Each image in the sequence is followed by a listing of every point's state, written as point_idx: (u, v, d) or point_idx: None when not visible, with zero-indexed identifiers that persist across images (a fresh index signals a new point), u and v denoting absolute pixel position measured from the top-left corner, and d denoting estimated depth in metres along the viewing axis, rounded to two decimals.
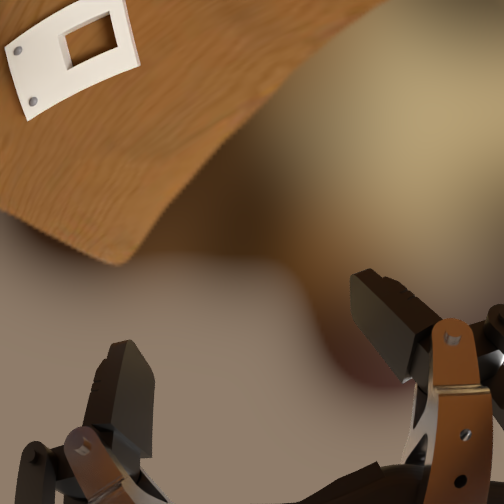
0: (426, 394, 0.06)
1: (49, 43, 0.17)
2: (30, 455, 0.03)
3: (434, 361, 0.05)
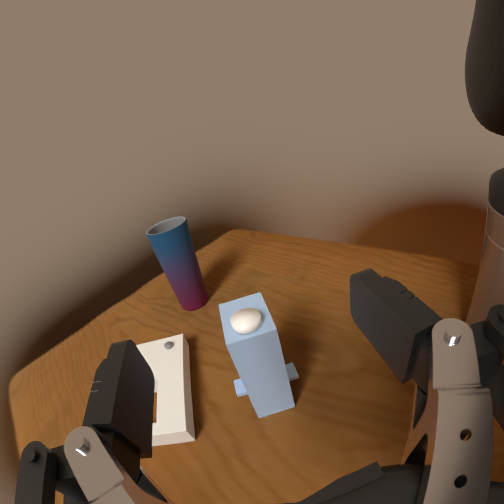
0: (426, 394, 0.06)
1: (155, 372, 0.31)
2: (30, 455, 0.03)
3: (434, 361, 0.05)
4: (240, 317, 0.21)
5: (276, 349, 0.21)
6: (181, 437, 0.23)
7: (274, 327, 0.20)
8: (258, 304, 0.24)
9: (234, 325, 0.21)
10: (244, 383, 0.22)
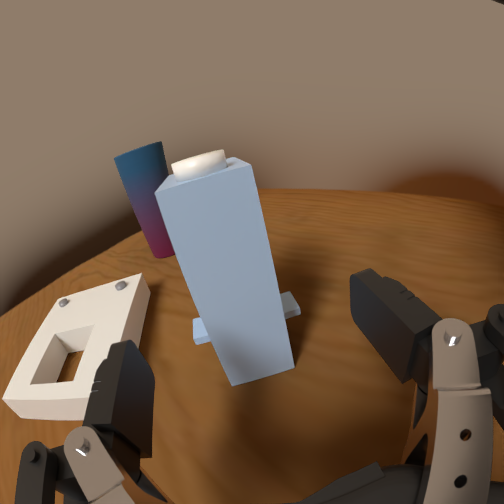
0: (426, 394, 0.06)
1: (94, 316, 0.21)
2: (30, 455, 0.03)
3: (434, 361, 0.05)
4: (189, 158, 0.12)
5: (253, 217, 0.11)
6: None
7: (247, 164, 0.11)
8: (226, 161, 0.14)
9: (175, 164, 0.11)
10: (196, 299, 0.12)
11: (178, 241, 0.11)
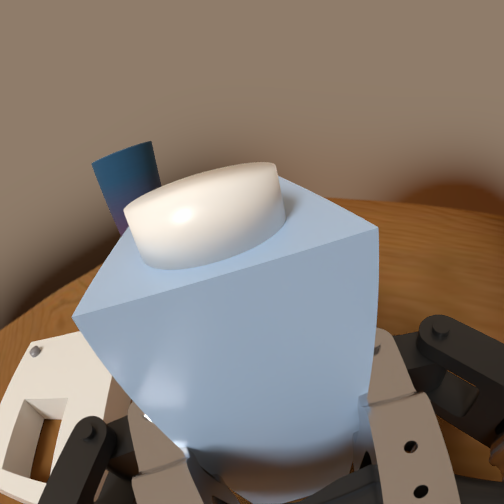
0: None
1: (68, 384, 0.14)
2: (85, 432, 0.05)
3: None
4: (175, 187, 0.04)
5: (354, 356, 0.04)
6: None
7: (360, 223, 0.03)
8: None
9: (131, 211, 0.03)
10: (212, 470, 0.05)
11: (163, 415, 0.04)
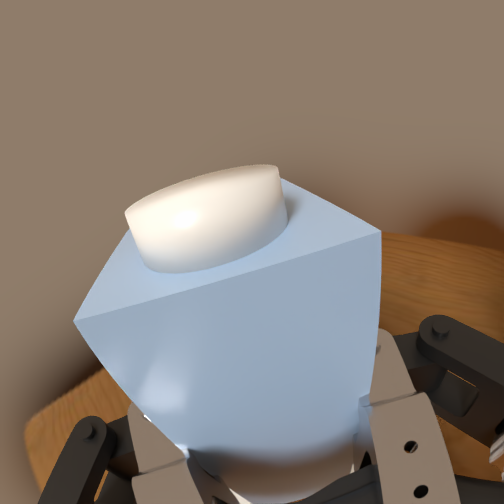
0: None
1: None
2: (85, 432, 0.05)
3: None
4: (176, 190, 0.04)
5: (355, 359, 0.04)
6: None
7: (362, 226, 0.03)
8: None
9: (132, 214, 0.03)
10: (213, 472, 0.05)
11: (165, 418, 0.04)
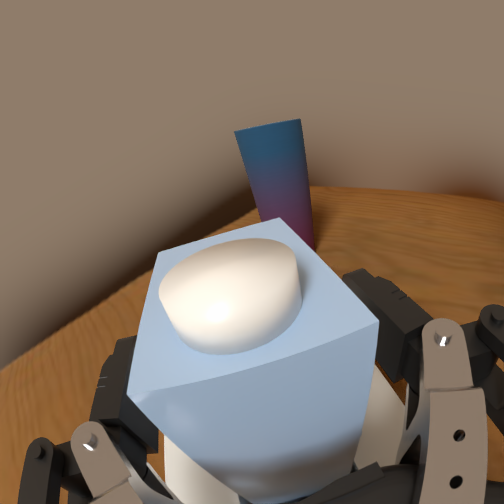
0: (418, 394, 0.06)
1: None
2: (36, 452, 0.04)
3: (423, 361, 0.05)
4: (202, 269, 0.05)
5: (352, 403, 0.05)
6: None
7: (364, 313, 0.04)
8: (275, 241, 0.07)
9: (169, 303, 0.04)
10: (230, 485, 0.06)
11: (197, 451, 0.04)
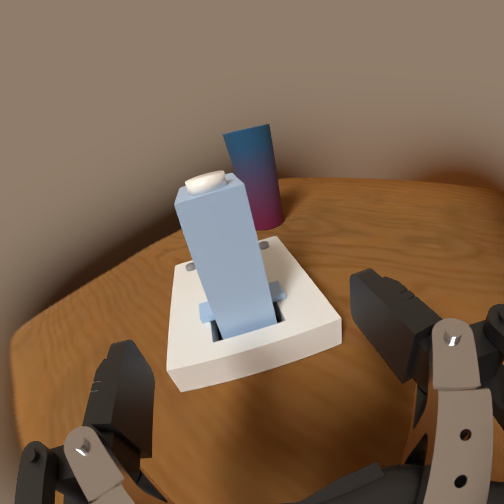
0: (426, 394, 0.06)
1: None
2: (30, 455, 0.03)
3: (434, 361, 0.05)
4: (198, 177, 0.16)
5: (246, 222, 0.16)
6: (327, 337, 0.18)
7: (241, 183, 0.15)
8: (226, 177, 0.18)
9: (188, 182, 0.15)
10: (203, 284, 0.17)
11: (191, 239, 0.15)
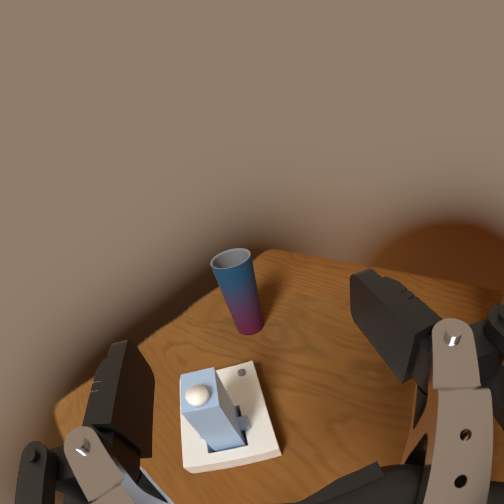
0: (426, 394, 0.06)
1: (234, 398, 0.34)
2: (30, 455, 0.03)
3: (434, 361, 0.05)
4: (192, 392, 0.24)
5: (222, 416, 0.24)
6: (271, 454, 0.26)
7: (218, 403, 0.24)
8: (209, 379, 0.27)
9: (187, 400, 0.24)
10: (201, 435, 0.25)
11: (192, 423, 0.24)
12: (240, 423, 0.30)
